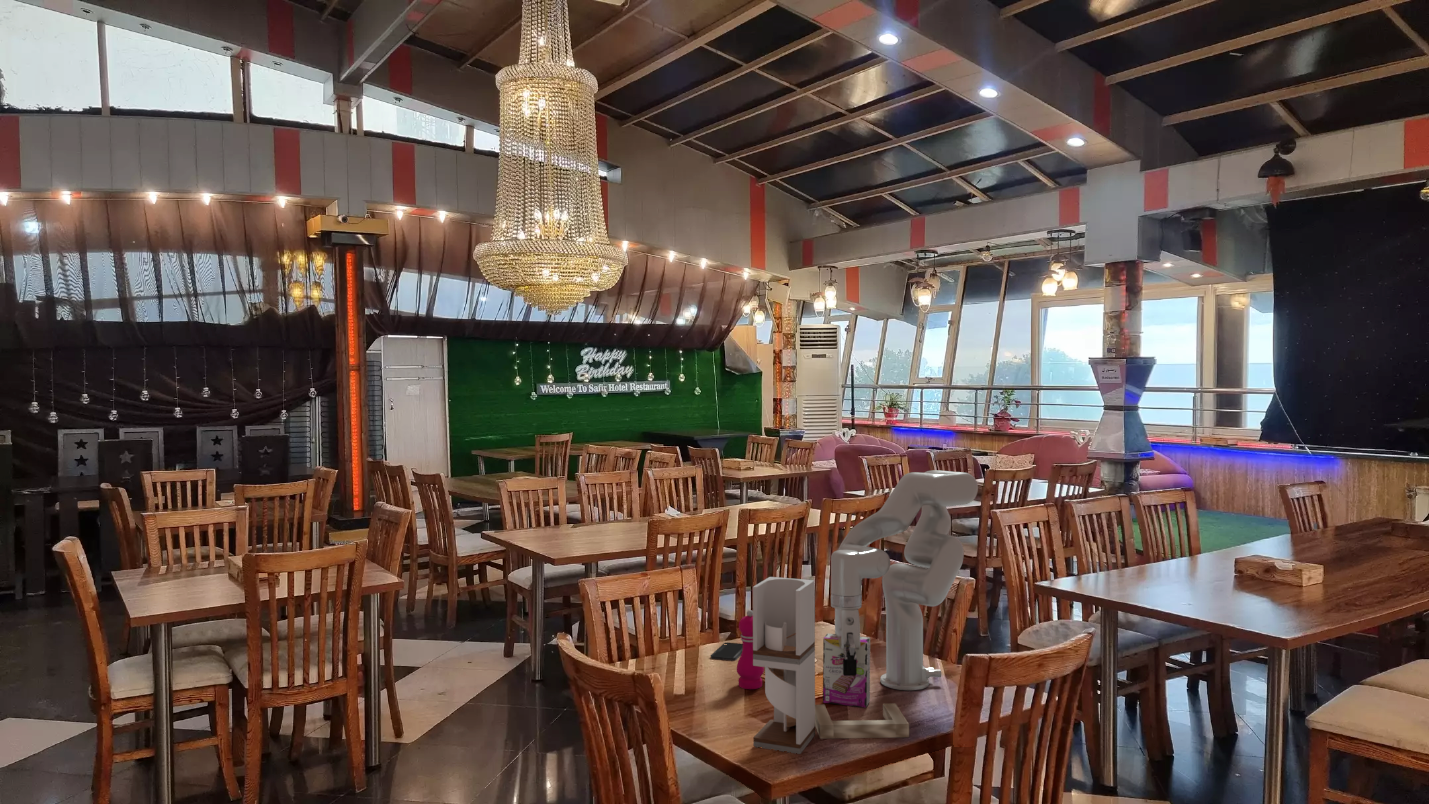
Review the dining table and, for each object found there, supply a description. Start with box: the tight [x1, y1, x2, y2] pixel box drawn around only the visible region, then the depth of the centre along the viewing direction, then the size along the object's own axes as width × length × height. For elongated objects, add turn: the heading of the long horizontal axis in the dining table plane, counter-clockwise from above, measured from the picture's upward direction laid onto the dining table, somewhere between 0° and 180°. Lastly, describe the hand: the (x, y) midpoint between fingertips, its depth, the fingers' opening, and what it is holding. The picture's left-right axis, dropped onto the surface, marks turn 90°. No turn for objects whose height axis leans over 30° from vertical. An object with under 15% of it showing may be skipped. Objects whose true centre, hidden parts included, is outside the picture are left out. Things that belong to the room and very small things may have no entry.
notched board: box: [815, 703, 910, 740], centre depth 205 cm, size 20×13×3 cm, turn 92°
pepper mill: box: [736, 609, 765, 690], centre depth 234 cm, size 7×7×20 cm
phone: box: [710, 642, 743, 662], centre depth 264 cm, size 8×1×15 cm
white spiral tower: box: [752, 576, 816, 755], centre depth 197 cm, size 11×11×35 cm
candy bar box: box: [822, 633, 871, 708], centre depth 221 cm, size 11×5×16 cm, turn 71°
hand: (846, 668), depth 221 cm, fingers open, 9 cm apart
